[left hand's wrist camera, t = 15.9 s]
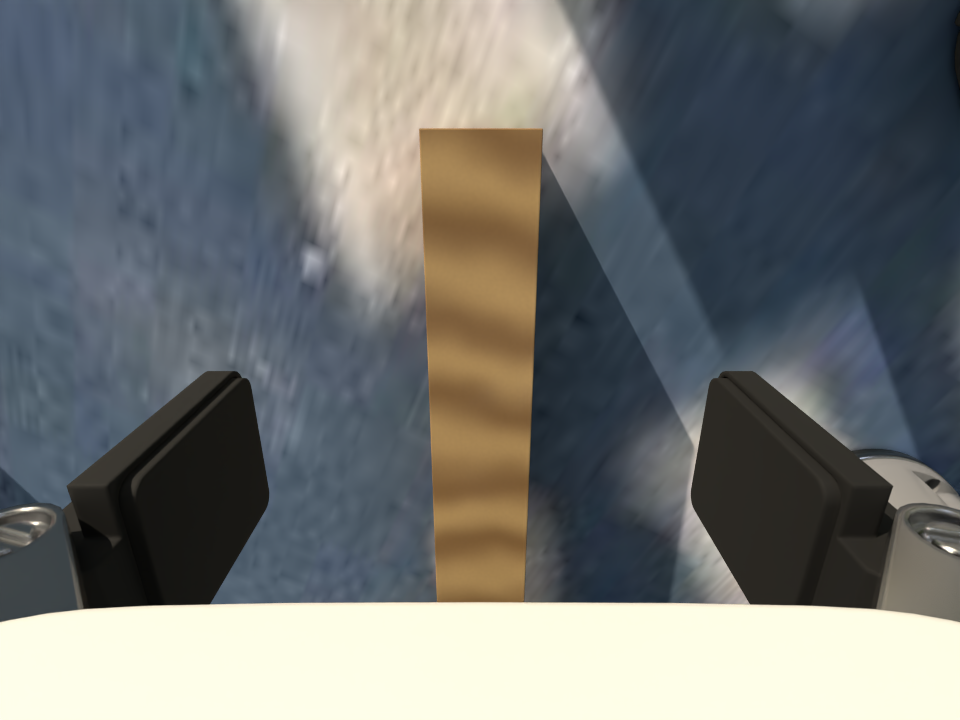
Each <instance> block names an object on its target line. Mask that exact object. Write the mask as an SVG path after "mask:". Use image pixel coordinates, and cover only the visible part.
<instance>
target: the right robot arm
mask: <svg viewBox="0 0 960 720" xmlns="http://www.w3.org/2000/svg"><path fill="white" fill-rule="evenodd" d="M851 452H853V453H854V454H855V455H856V456H857V457H859V458H860V459H861V460H862V461H864V462H865V463H866V464H867V465H868V466H870V467H871V468H872V469H873V470H875V471H876V472H877V473H878V474H879V475H881V476H882V477H883V478H884V479H885V480H887V481H888V482H889V483H890V484H892V485H893V489H892V492H891V495H890V498H889V500H888V502H889V503H890V504H891V505H893V506H894V507H895V508H896V509H897V510H898V509H899V507H901V506H904V505H907V504H910V503H929V504H937V505H943V506H947V507H951V508H955V509H958V510H960V496H959V495H958V493H957V492H956V491H955V490H954V488H953V487H952V486H951V485H950V484H949V483H948V482H947V481H946V480H945V479H944V478H943V477H942V476H940V475H939V474H938V473H937V472H935V471H934V470H933V469H931V468H930V467H928V466H927V465H926V464H924V463H923V462H921V461H919V460H918V459H916V458H914V457H912V456H910V455H907V454H904V453H901V452H897V451H892V450H884V449H863V450H855V451H851Z"/></svg>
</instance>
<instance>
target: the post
mask: <svg viewBox="0 0 960 720" xmlns="http://www.w3.org/2000/svg"><path fill="white" fill-rule="evenodd" d="M419 136H420V162H421V189H422V215H423V241H424V267H425V294H426V320H427V346H428V372H429V399H430V425H431V451H432V477H433V504H434V530H435V556H436V583H437V602H524V592H525V567H526V542H527V517H528V492H529V467H530V441H531V416H532V391H533V366H534V341H535V316H536V290H537V265H538V240H539V215H540V190H541V165H542V139H543V129H419Z"/></svg>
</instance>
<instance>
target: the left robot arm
mask: <svg viewBox="0 0 960 720" xmlns="http://www.w3.org/2000/svg"><path fill="white" fill-rule="evenodd" d="M67 489H68V492H69V495H70V498H71V500H72V502H71V503H70V504H69V505H67V506H66V507H65V508H64V509H63V510H62V509H61V507H59V506H56V505H53V504H50V503H31V504H23V505H17V506H13V507H9V508H5V509H2V510H0V720H960V510H958V509H955V508H951V507H947V506H943V505H937V504H929V503H910V504H907V505H904V506H901V507H899V509H898V510H897V509H896V508H895V507H894V506H893V505H891V504H890V503H889V502H888V500H889V498H890V495H891V492H892V489H893V485H892V484H890V483H889V482H888V481H887V480H885V479H884V478H883V477H882V476H881V475H879V474H878V473H877V472H876V471H875V470H873V469H872V468H871V467H870V466H868V465H867V464H866V463H865V462H864V461H862V460H861V459H860V458H859V457H857V456H856V455H855V454H854V453H853V452H851V451H850V450H849V449H848V448H847V447H845V446H844V445H843V444H842V443H840V442H839V441H838V440H837V439H836V438H834V437H833V436H832V435H831V434H829V433H828V432H827V431H826V430H825V429H823V428H822V427H821V426H820V425H819V424H817V423H816V422H815V421H814V420H812V419H811V418H810V417H809V416H808V415H806V414H805V413H804V412H803V411H802V410H800V409H799V408H798V407H797V406H795V405H794V404H793V403H792V402H791V401H789V400H788V399H787V398H786V397H784V396H783V395H782V394H781V393H780V392H778V391H777V390H776V389H775V388H774V387H772V386H771V385H770V384H769V383H767V382H766V381H765V380H764V379H763V378H761V377H760V376H759V375H758V374H756V373H755V372H753V371H724V372H722V373H721V374H720V375H719V377H718V378H713V379H712V380H711V382H710V385H709V389H708V395H707V401H706V406H705V412H704V418H703V424H702V430H701V435H700V441H699V447H698V453H697V459H696V464H695V470H694V476H693V482H692V488H691V501H692V505H693V508H694V510H695V512H696V513H697V515H698V517H699V518H700V520H701V522H702V524H703V525H704V527H705V529H706V530H707V532H708V534H709V535H710V537H711V539H712V540H713V542H714V544H715V546H716V547H717V549H718V551H719V552H720V554H721V556H722V557H723V559H724V561H725V563H726V564H727V566H728V568H729V569H730V571H731V573H732V574H733V576H734V578H735V579H736V581H737V583H738V585H739V586H740V588H741V590H742V591H743V593H744V595H745V596H746V598H747V600H748V601H749V603H750V605H743V604H689V603H530V602H430V603H271V604H217V605H210V603H211V601H212V600H213V598H214V596H215V595H216V593H217V591H218V590H219V588H220V586H221V585H222V583H223V581H224V579H225V578H226V576H227V574H228V573H229V571H230V569H231V568H232V566H233V564H234V563H235V561H236V559H237V557H238V556H239V554H240V552H241V551H242V549H243V547H244V546H245V544H246V542H247V540H248V539H249V537H250V535H251V534H252V532H253V530H254V529H255V527H256V525H257V524H258V522H259V520H260V518H261V517H262V515H263V513H264V512H265V510H266V508H267V505H268V501H269V488H268V482H267V476H266V470H265V464H264V459H263V453H262V447H261V441H260V435H259V430H258V424H257V418H256V412H255V406H254V401H253V395H252V389H251V385H250V382H249V380H248V379H247V378H242V377H241V376H240V374H239V373H238V372H236V371H207V372H205V373H204V374H202V375H201V376H200V377H199V378H197V379H196V380H195V381H194V382H193V383H191V384H190V385H189V386H188V387H186V388H185V389H184V390H183V391H182V392H180V393H179V394H178V395H177V396H176V397H174V398H173V399H172V400H171V401H169V402H168V403H167V404H166V405H165V406H163V407H162V408H161V409H160V410H158V411H157V412H156V413H155V414H154V415H152V416H151V417H150V418H149V419H148V420H146V421H145V422H144V423H143V424H141V425H140V426H139V427H138V428H137V429H135V430H134V431H133V432H132V433H131V434H129V435H128V436H127V437H126V438H124V439H123V440H122V441H121V442H120V443H118V444H117V445H116V446H115V447H113V448H112V449H111V450H110V451H109V452H107V453H106V454H105V455H104V456H103V457H101V458H100V459H99V460H98V461H96V462H95V463H94V464H93V465H92V466H90V467H89V468H88V469H87V470H85V471H84V472H83V473H82V474H81V475H79V476H78V477H77V478H76V479H75V480H73V481H72V482H71V483H70V484H68V485H67Z"/></svg>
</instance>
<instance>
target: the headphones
mask: <svg viewBox="0 0 960 720" xmlns="http://www.w3.org/2000/svg"><path fill="white" fill-rule="evenodd" d="M955 24H956V25H957V26H960V11H959V13H958V16H957V18H956V21H955ZM955 71H956V75H957V80H958V84H959V88H960V31H959V34H958V37H957V43H956V49H955Z"/></svg>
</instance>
